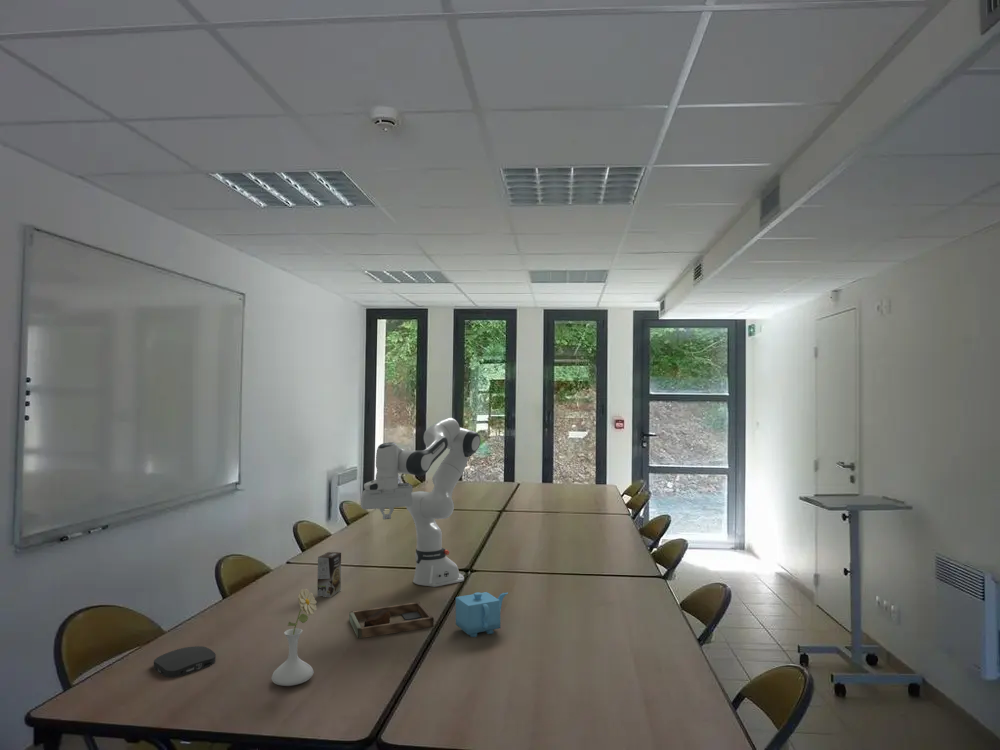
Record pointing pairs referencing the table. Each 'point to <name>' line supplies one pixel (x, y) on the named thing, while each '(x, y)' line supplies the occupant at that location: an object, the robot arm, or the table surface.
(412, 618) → the trap pits
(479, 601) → the teapot
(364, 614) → the box
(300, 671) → the flower in vase
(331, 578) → the coffee box
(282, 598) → the table surface
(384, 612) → the brick
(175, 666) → the media streaming box
